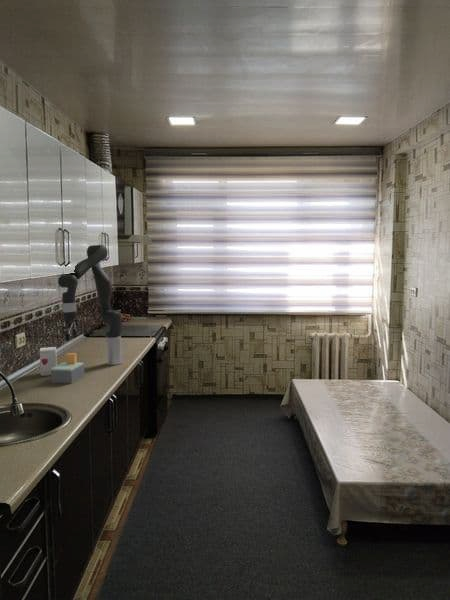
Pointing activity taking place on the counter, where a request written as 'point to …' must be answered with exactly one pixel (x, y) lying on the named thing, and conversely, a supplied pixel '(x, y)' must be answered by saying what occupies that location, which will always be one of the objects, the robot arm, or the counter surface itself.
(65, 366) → the lid
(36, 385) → the counter surface
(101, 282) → the robot arm
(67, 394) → the counter surface
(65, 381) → the tub
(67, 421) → the counter surface
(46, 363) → the supplement box
